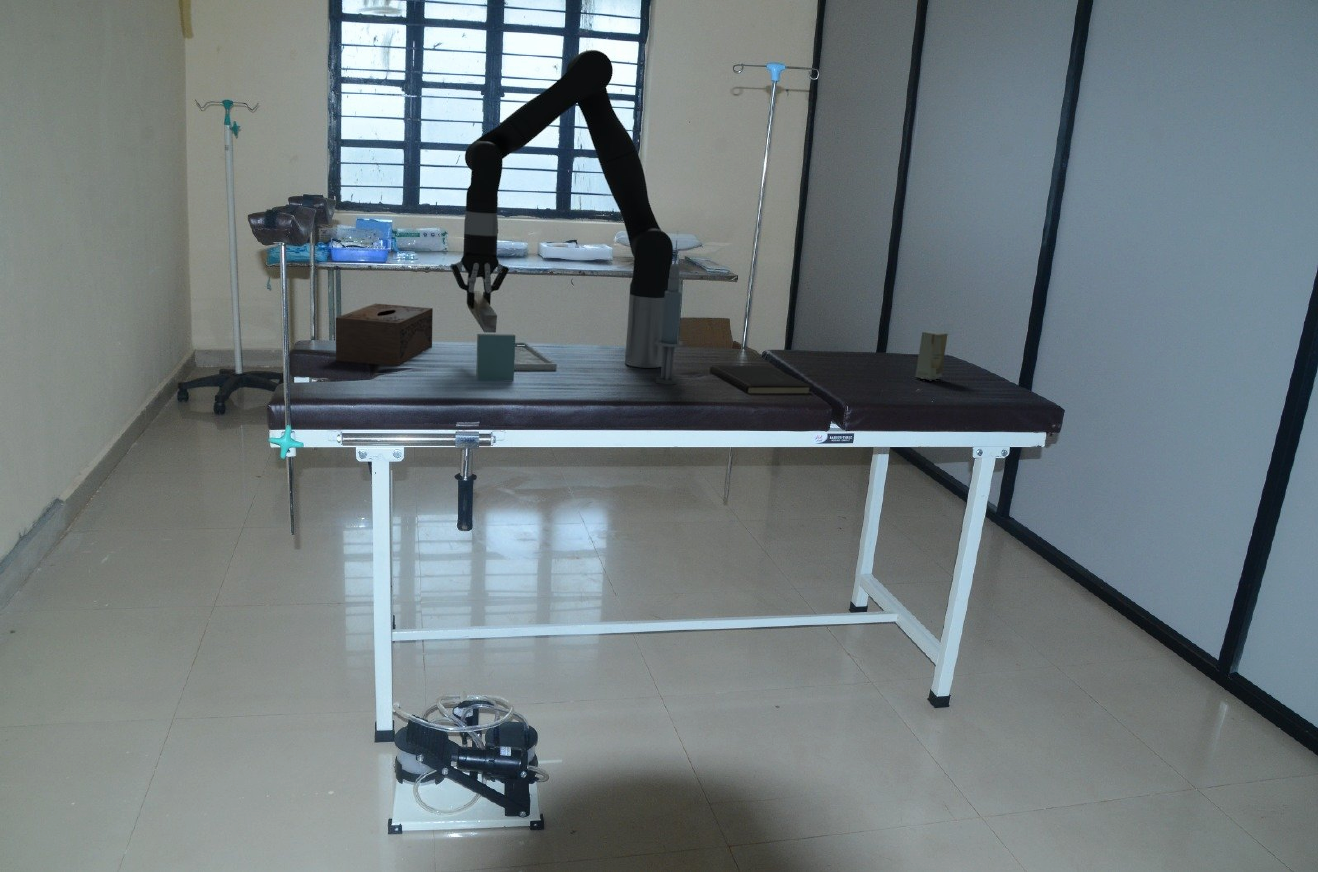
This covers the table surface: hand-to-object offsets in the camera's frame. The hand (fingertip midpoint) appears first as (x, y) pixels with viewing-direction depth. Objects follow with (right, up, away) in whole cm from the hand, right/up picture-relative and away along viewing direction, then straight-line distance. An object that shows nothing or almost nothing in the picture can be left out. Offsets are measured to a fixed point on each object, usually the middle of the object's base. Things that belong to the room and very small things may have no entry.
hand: (478, 308), depth 236 cm
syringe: (+43, -17, -2) cm, 47 cm away
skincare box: (+111, -15, +26) cm, 115 cm away
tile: (+6, -17, -13) cm, 22 cm away
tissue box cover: (-23, -10, +7) cm, 26 cm away
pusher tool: (+1, -3, -2) cm, 4 cm away
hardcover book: (+65, -18, +6) cm, 68 cm away
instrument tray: (+7, -11, +12) cm, 18 cm away
